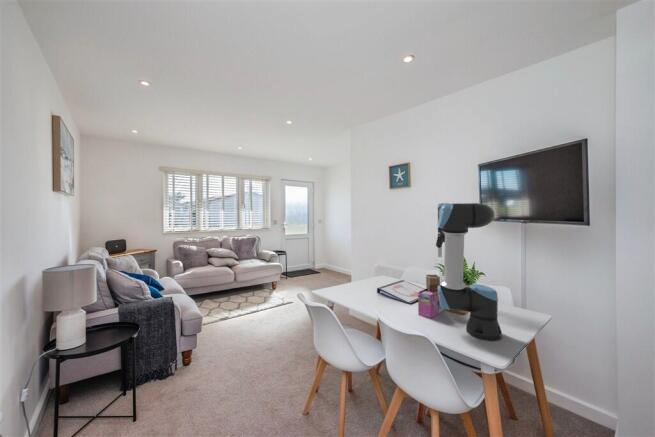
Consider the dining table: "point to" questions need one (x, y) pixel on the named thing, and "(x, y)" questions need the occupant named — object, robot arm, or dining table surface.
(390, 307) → the dining table surface
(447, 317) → the dining table surface
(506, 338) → the dining table surface
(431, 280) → the walnut block
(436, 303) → the gum box
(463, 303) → the robot arm
